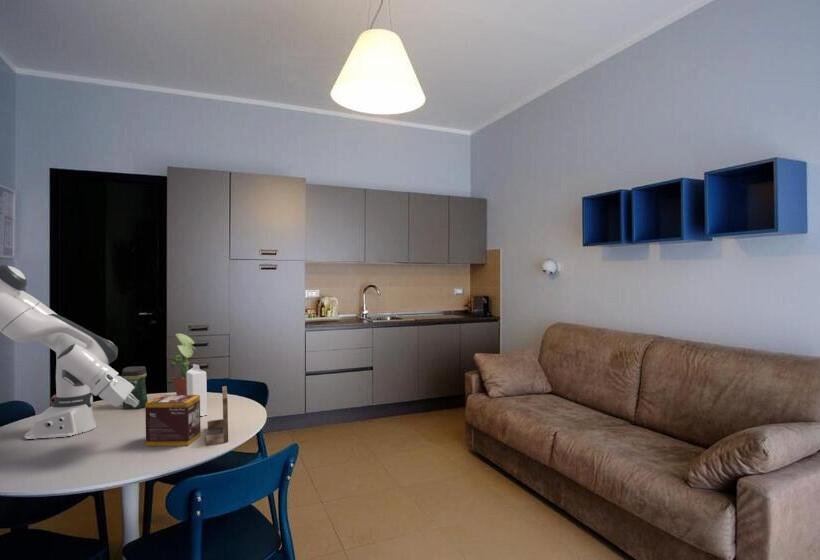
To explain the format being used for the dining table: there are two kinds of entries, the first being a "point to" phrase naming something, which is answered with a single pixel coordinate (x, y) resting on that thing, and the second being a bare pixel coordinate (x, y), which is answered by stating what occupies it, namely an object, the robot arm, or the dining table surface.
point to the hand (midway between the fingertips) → (137, 404)
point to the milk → (198, 386)
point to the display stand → (219, 424)
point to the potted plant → (182, 363)
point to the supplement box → (172, 420)
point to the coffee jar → (136, 384)
